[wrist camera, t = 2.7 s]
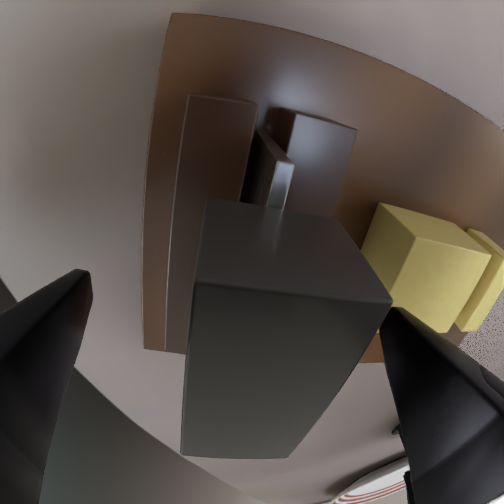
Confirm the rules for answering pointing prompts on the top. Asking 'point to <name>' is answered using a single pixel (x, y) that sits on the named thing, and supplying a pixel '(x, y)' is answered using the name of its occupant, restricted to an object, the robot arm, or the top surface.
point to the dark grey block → (271, 318)
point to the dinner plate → (375, 484)
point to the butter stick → (424, 263)
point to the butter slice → (483, 286)
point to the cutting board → (358, 96)
